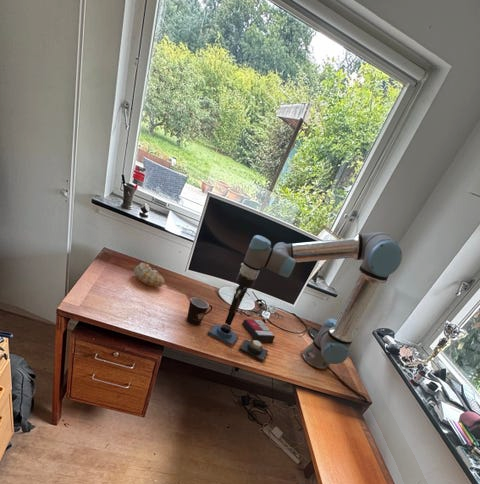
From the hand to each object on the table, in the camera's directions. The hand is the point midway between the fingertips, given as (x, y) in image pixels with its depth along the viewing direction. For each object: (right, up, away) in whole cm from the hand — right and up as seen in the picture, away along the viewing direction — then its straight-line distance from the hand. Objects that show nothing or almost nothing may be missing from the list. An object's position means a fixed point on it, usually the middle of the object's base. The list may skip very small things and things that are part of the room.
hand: (227, 323), depth 156 cm
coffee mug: (-15, +2, +4) cm, 16 cm away
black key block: (+12, -12, +5) cm, 17 cm away
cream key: (+13, -10, +3) cm, 17 cm away
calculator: (+14, 0, +19) cm, 24 cm away
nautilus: (-41, +26, +15) cm, 51 cm away
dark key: (-1, -3, +2) cm, 4 cm away
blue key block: (-2, -5, +4) cm, 7 cm away
